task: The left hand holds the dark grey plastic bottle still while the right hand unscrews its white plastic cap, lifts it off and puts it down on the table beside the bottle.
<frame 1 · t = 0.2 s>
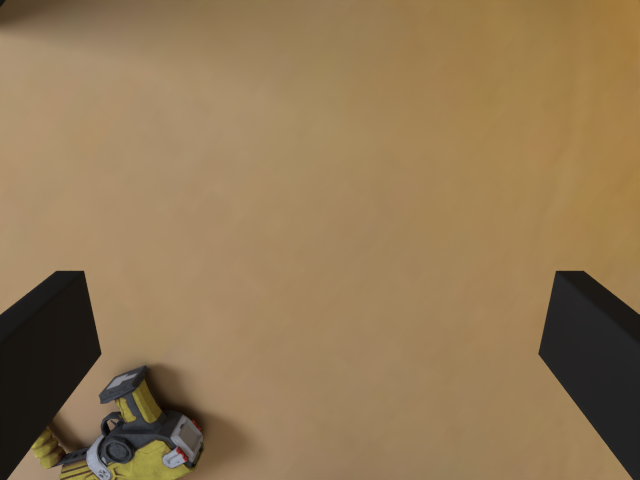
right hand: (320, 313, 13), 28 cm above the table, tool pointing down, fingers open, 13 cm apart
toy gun: (91, 434, 51), on the table
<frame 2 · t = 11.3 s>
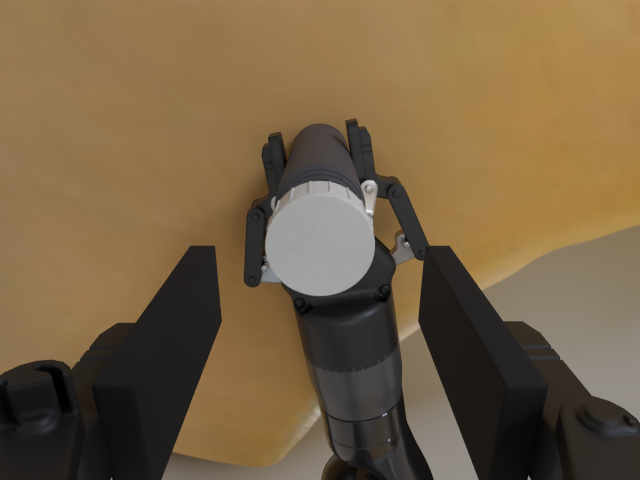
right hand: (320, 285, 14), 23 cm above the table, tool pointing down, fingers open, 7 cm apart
bottle: (319, 151, 36), on the table, touching left hand
cap: (319, 244, 18), point 20 cm above the table, screwed on, not yet turned
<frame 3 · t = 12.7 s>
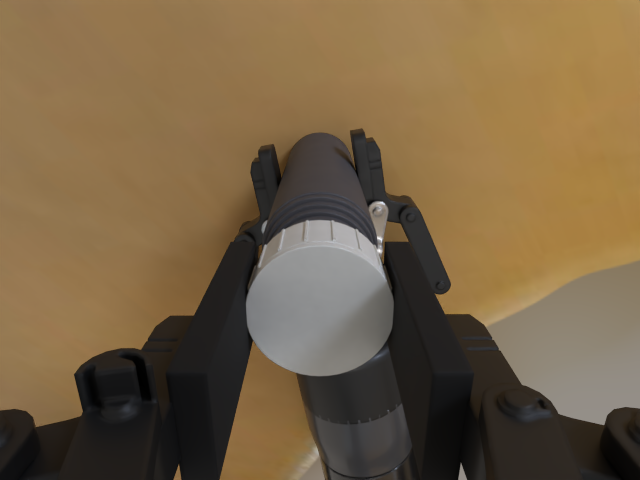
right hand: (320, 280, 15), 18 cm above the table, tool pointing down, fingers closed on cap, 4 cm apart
bottle: (319, 164, 32), on the table, touching left hand
cap: (319, 309, 13), point 20 cm above the table, screwed on, not yet turned, touching right hand
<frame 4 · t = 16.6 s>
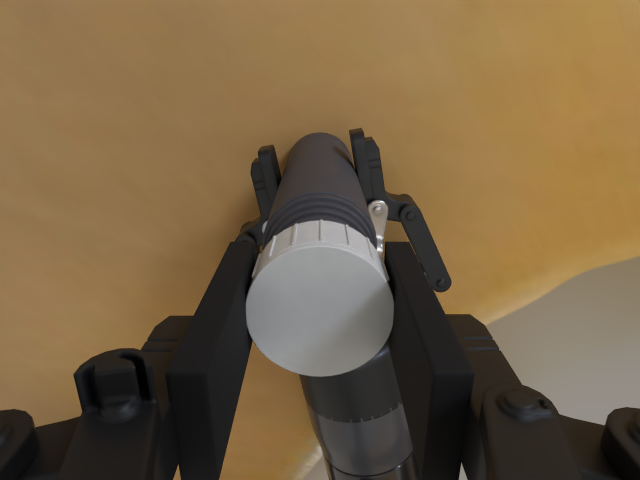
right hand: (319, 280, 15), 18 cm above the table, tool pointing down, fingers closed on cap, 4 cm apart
bottle: (319, 164, 32), on the table, touching left hand
cap: (319, 310, 13), point 20 cm above the table, turned 136° so far, risen 0.1 cm, still on its thread, touching right hand
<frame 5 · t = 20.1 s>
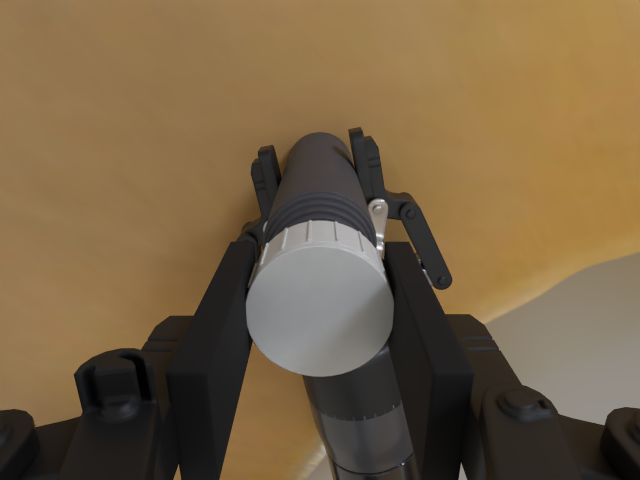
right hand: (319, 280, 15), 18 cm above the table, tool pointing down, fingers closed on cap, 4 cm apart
bottle: (319, 164, 32), on the table, touching left hand
cap: (319, 310, 13), point 20 cm above the table, turned 271° so far, risen 0.3 cm, still on its thread, touching right hand
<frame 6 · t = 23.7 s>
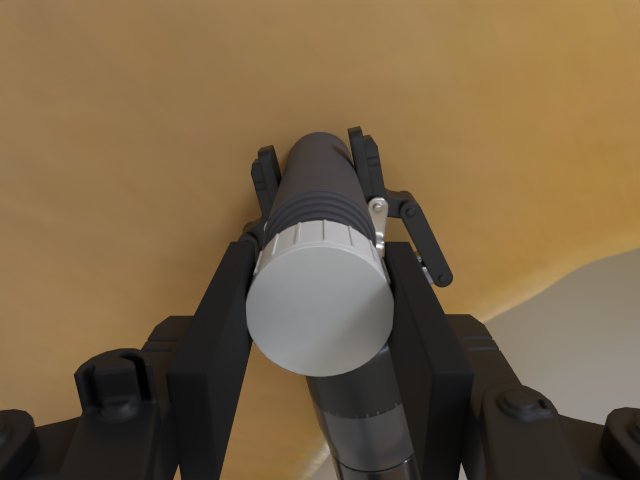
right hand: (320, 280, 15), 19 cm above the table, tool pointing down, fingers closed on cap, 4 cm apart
bottle: (319, 163, 32), on the table, touching left hand
cap: (320, 310, 13), point 20 cm above the table, turned 407° so far, risen 0.4 cm, still on its thread, touching right hand
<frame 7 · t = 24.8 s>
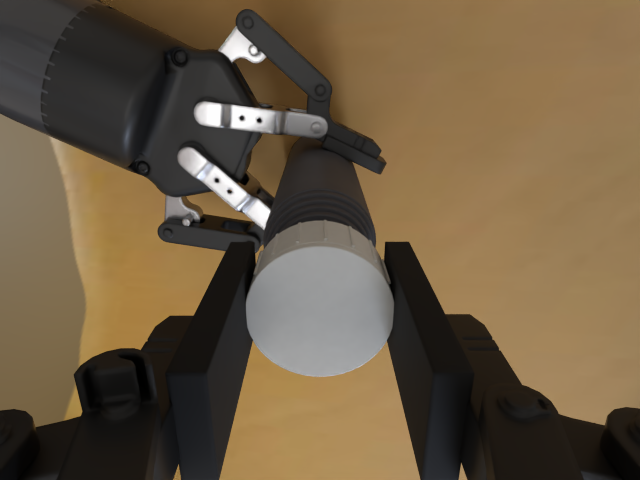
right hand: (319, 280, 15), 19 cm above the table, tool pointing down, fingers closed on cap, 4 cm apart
bottle: (319, 163, 32), on the table, touching left hand
cap: (319, 310, 13), point 21 cm above the table, off its thread, touching right hand
when the right hand's fingers open (2 cm above the table, at t = 30.5 s): cap drops 2 cm, point 2 cm above the table.
when the left hand's fingers open (6 cm above the table, at t = 31.7 s): bottle stays where it is, on the table.
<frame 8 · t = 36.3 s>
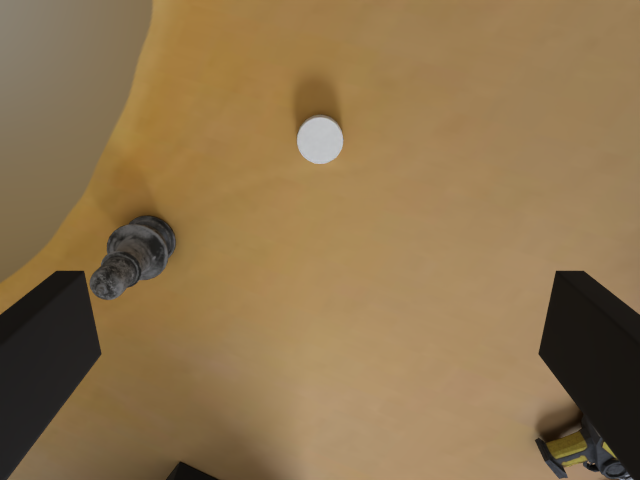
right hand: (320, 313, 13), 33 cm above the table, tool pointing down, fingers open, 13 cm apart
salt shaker: (150, 239, 47), on the table
cap: (320, 140, 42), point 2 cm above the table, off its thread
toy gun: (613, 465, 59), on the table
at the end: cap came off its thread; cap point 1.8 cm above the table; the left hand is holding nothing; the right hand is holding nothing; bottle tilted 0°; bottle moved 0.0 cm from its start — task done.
